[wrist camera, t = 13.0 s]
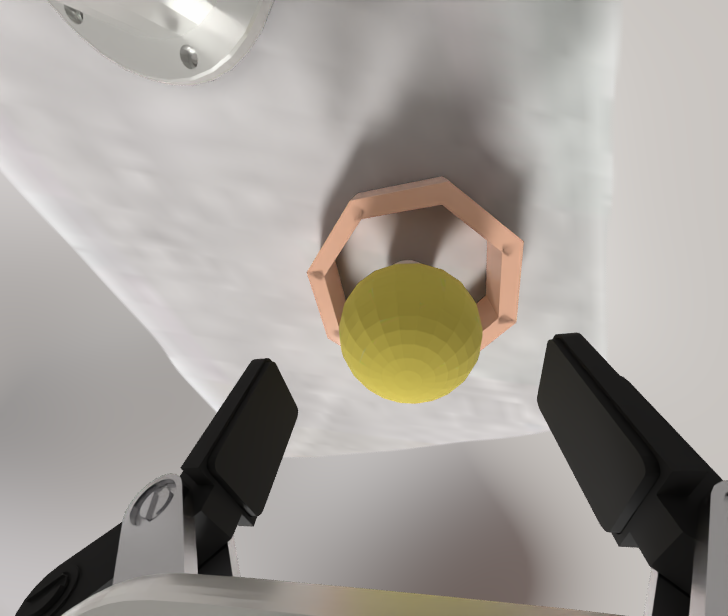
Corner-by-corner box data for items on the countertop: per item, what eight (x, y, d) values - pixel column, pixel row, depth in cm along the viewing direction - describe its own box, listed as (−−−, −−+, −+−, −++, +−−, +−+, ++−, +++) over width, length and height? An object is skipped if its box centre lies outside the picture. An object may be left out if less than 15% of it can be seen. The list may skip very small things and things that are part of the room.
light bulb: (349, 238, 18) (298, 319, 9) (453, 217, 16) (505, 290, 8) (371, 321, 21) (347, 438, 13) (460, 310, 20) (502, 435, 11)
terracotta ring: (305, 203, 17) (287, 212, 15) (508, 162, 15) (530, 165, 12) (347, 350, 23) (339, 375, 20) (498, 339, 20) (512, 366, 18)
